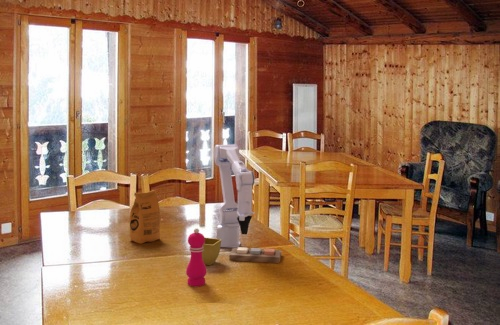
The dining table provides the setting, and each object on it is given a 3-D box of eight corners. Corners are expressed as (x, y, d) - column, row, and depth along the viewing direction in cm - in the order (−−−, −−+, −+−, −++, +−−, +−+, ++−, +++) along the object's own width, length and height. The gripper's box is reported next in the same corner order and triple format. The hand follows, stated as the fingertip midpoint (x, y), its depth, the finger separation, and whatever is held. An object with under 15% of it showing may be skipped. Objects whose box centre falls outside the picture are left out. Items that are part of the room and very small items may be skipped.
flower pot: (221, 261, 240) (221, 239, 239) (213, 267, 232) (213, 244, 231) (201, 258, 243) (201, 236, 242) (192, 264, 235) (192, 242, 233)
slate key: (250, 257, 243) (250, 250, 243) (251, 254, 247) (251, 247, 247) (260, 258, 243) (260, 251, 242) (261, 255, 247) (261, 248, 246)
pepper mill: (186, 280, 217) (186, 226, 214) (206, 280, 218) (206, 225, 215) (185, 287, 210) (185, 231, 207) (206, 286, 210) (206, 231, 208)
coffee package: (126, 240, 269) (125, 191, 265) (150, 235, 277) (149, 188, 274) (139, 244, 261) (138, 194, 258) (162, 239, 270) (162, 191, 267)
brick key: (263, 258, 242) (263, 251, 242) (264, 255, 246) (264, 248, 246) (273, 259, 242) (273, 251, 242) (274, 256, 246) (274, 249, 245)
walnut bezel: (229, 260, 241) (229, 254, 241) (233, 252, 251) (233, 247, 251) (279, 262, 239) (279, 257, 238) (281, 255, 249) (281, 250, 248)
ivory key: (236, 257, 244) (236, 249, 243) (238, 254, 248) (238, 247, 247) (246, 257, 243) (246, 250, 243) (247, 254, 247) (247, 247, 247)
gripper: (252, 205, 236) (251, 239, 237) (256, 197, 250) (256, 229, 252) (234, 204, 236) (233, 238, 238) (240, 197, 251) (239, 229, 253)
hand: (244, 233), depth 245 cm, fingers closed
